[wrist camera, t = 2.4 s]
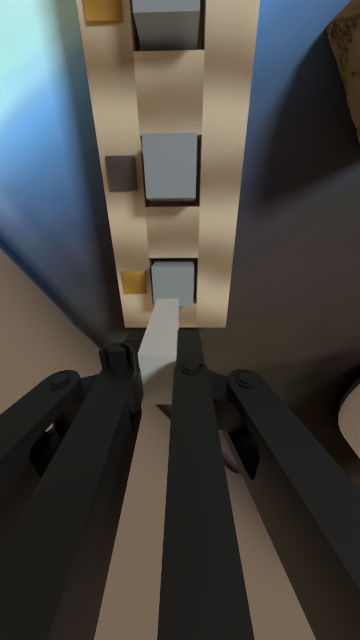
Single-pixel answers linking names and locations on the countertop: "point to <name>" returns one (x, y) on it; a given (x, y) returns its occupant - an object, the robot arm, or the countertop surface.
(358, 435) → the pot
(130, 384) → the robot arm
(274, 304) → the countertop surface
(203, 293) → the button panel
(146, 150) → the middle button
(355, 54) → the rock
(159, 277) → the button
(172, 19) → the button
